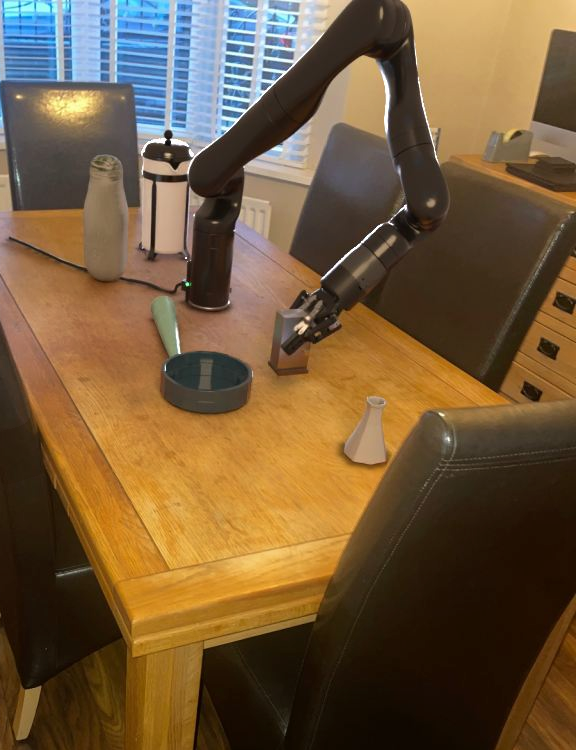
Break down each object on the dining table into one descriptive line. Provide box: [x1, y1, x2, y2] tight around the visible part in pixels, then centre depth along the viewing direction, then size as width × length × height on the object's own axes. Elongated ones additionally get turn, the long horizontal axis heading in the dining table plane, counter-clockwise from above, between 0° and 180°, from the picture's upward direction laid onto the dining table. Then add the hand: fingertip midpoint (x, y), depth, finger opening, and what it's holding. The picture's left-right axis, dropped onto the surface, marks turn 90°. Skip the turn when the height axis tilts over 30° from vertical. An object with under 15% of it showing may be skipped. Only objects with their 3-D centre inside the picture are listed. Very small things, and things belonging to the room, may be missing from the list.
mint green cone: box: [150, 295, 182, 358], centre depth 159 cm, size 5×6×27 cm
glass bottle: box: [82, 154, 130, 282], centre depth 181 cm, size 10×10×28 cm
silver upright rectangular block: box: [267, 308, 314, 377], centre depth 141 cm, size 6×5×11 cm
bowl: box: [160, 350, 254, 415], centre depth 143 cm, size 16×16×5 cm
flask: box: [343, 395, 387, 465], centre depth 127 cm, size 7×7×10 cm
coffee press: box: [138, 129, 195, 261], centre depth 200 cm, size 17×16×30 cm
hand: (281, 347), depth 141 cm, fingers closed on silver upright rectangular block, 3 cm apart
